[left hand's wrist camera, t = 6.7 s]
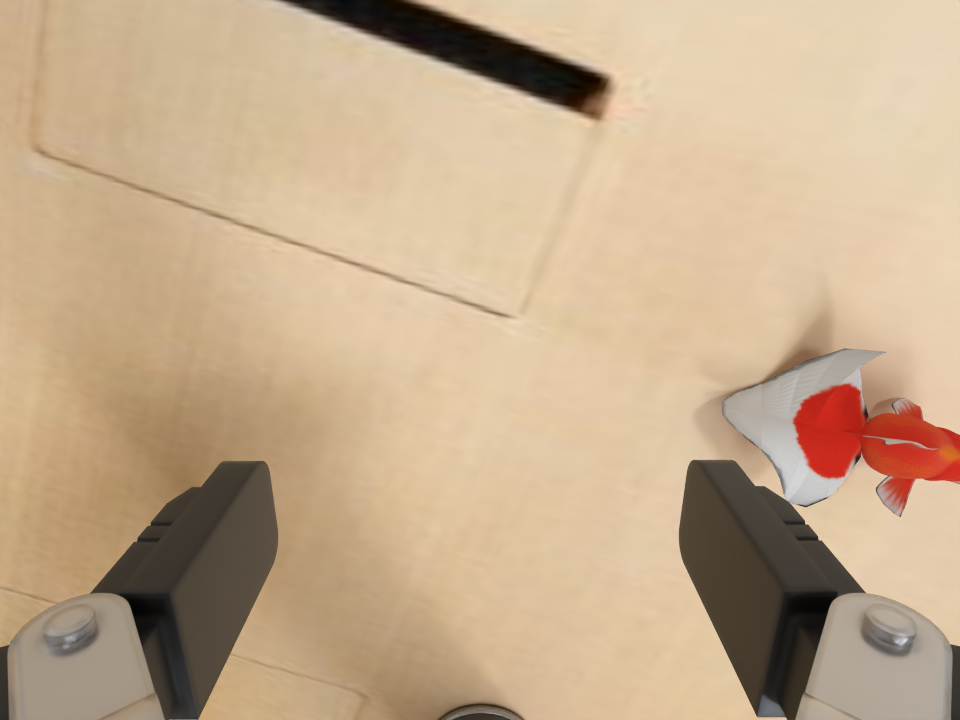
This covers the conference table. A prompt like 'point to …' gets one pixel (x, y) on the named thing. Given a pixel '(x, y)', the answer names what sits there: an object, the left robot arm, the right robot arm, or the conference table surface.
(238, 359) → the conference table surface
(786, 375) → the fish
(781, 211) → the conference table surface
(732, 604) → the left robot arm
